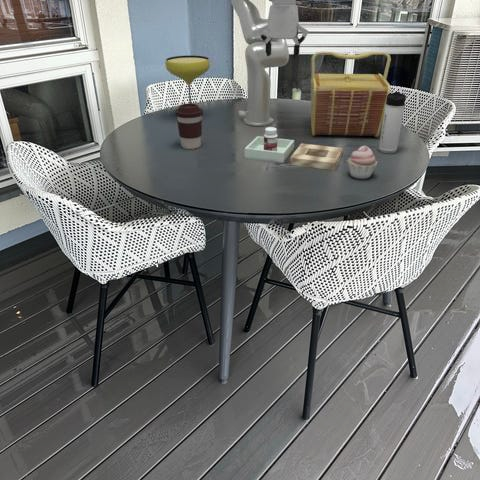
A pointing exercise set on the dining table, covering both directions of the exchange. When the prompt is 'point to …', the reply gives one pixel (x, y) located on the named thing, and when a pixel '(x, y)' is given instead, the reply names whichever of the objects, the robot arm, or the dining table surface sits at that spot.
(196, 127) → the coffee cup
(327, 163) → the socket block
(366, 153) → the cupcake
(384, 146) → the travel mug
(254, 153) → the tray
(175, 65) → the cocktail glass
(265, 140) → the pill bottle
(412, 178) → the dining table surface
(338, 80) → the picnic basket
